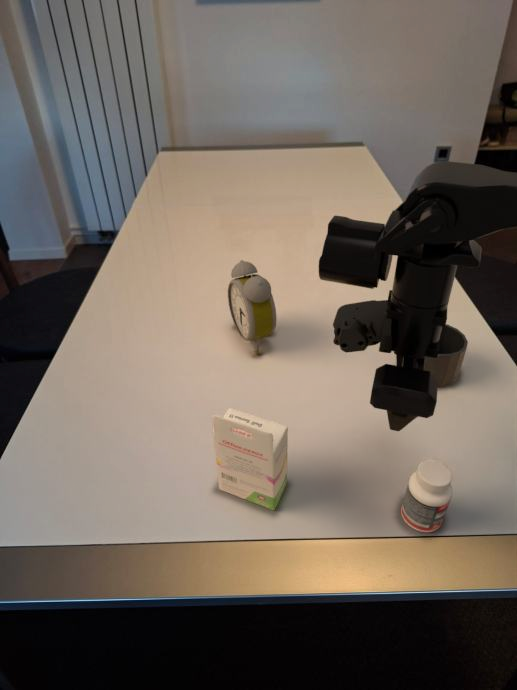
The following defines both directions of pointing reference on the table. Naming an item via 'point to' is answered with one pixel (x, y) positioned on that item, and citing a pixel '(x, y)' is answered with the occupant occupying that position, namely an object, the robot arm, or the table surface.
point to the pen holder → (448, 356)
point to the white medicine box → (251, 457)
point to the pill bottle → (427, 496)
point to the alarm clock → (251, 304)
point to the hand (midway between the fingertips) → (398, 402)
